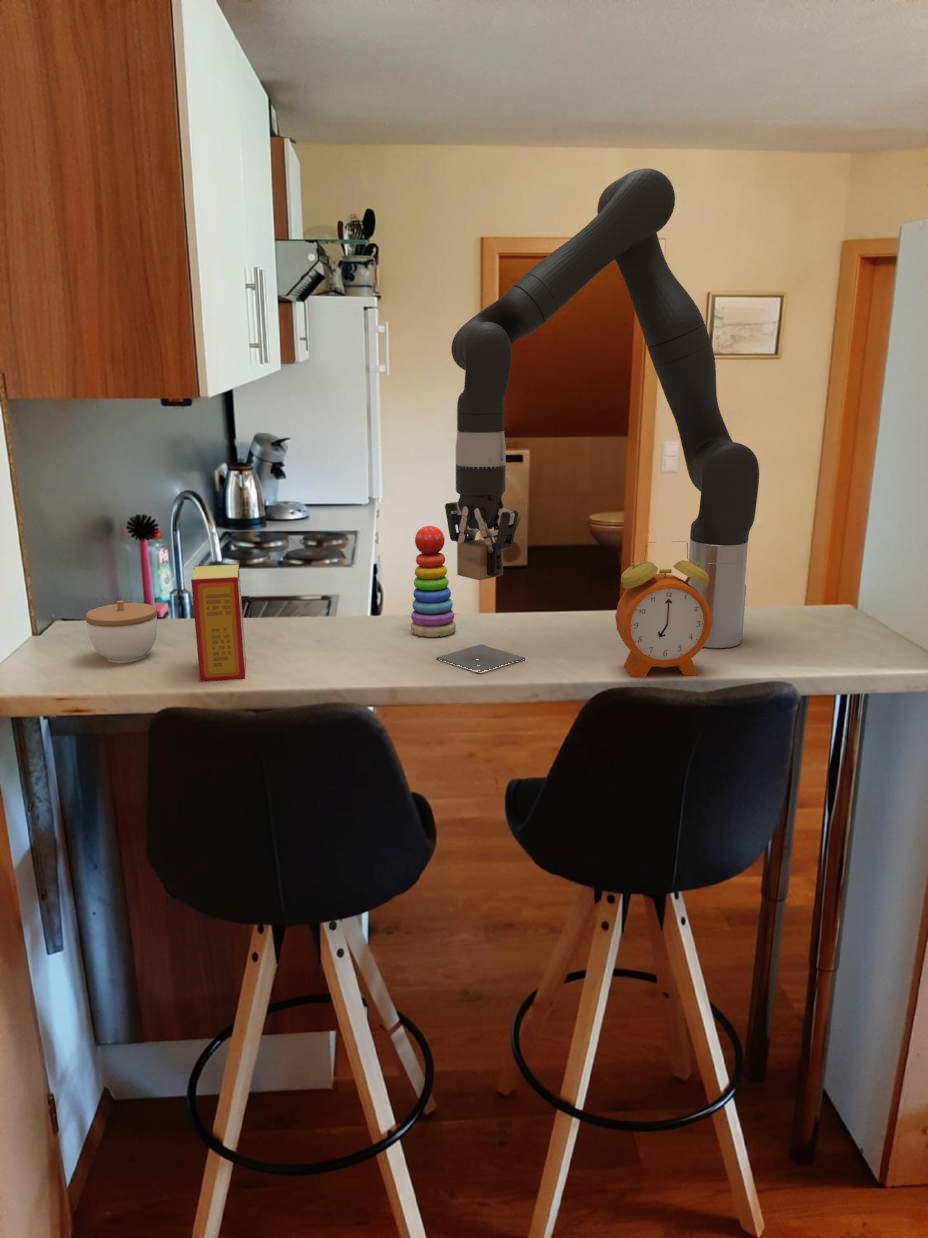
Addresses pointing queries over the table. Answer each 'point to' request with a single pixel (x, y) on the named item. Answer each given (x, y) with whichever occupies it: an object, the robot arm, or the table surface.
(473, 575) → the cube
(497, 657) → the mat
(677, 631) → the alarm clock
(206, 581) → the baking soda box
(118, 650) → the lidded jar
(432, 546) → the stacking toy
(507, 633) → the table surface
